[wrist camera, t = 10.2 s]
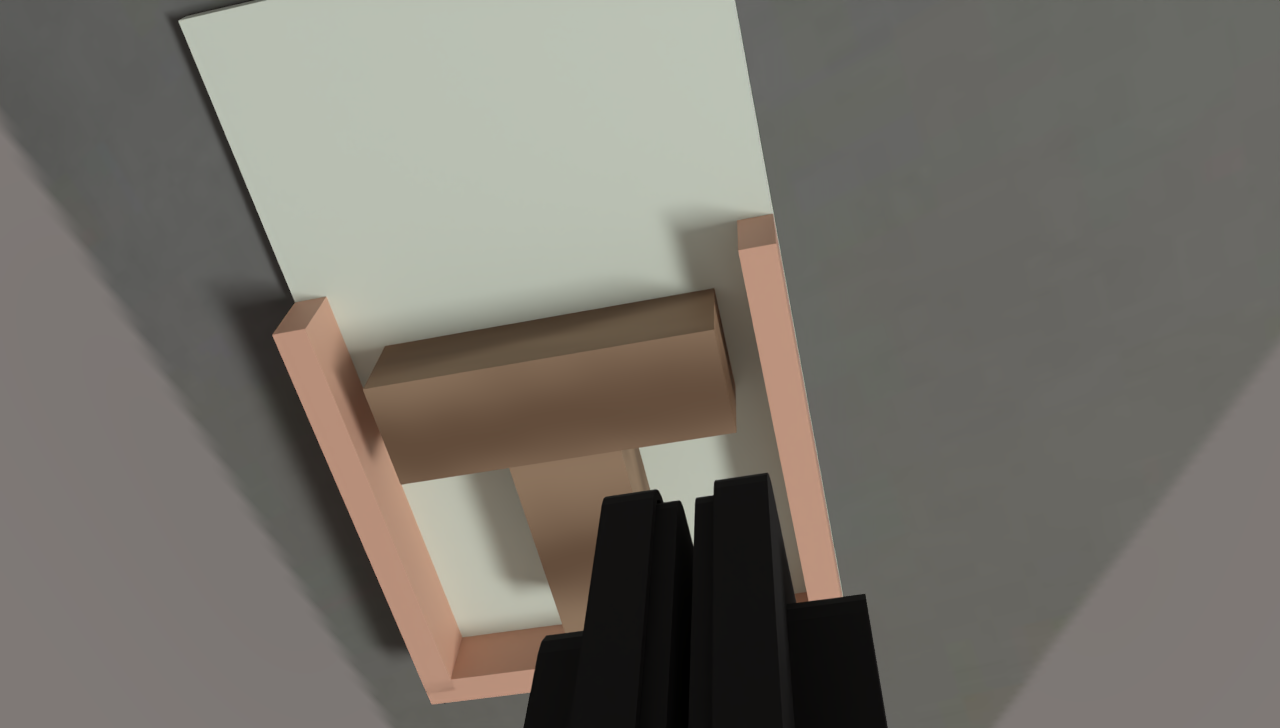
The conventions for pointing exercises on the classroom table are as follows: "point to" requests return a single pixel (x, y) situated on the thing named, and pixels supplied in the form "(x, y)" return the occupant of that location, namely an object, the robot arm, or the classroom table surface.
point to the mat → (503, 208)
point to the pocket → (395, 536)
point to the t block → (558, 413)
